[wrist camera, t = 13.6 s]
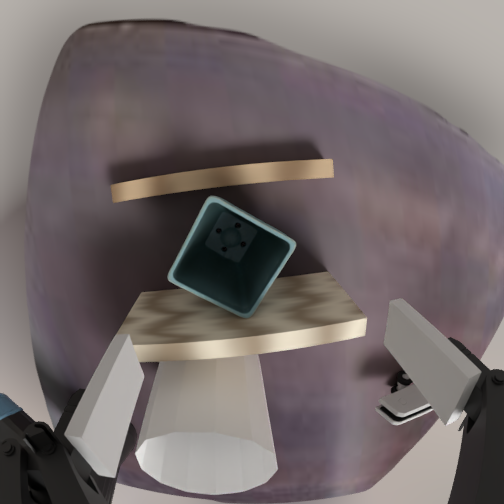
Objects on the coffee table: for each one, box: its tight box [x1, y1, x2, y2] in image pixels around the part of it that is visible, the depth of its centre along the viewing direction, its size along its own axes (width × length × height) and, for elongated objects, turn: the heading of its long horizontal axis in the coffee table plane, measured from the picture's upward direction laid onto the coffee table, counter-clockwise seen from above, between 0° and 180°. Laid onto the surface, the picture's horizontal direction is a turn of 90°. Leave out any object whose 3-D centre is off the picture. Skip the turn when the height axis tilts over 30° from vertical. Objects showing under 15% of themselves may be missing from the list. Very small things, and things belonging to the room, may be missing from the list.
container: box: [135, 354, 278, 495], centre depth 31 cm, size 14×14×18 cm
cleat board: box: [111, 159, 367, 362], centre depth 28 cm, size 24×16×12 cm, turn 96°
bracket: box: [375, 371, 434, 425], centre depth 39 cm, size 4×10×15 cm
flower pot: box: [167, 196, 296, 319], centre depth 30 cm, size 9×9×9 cm
